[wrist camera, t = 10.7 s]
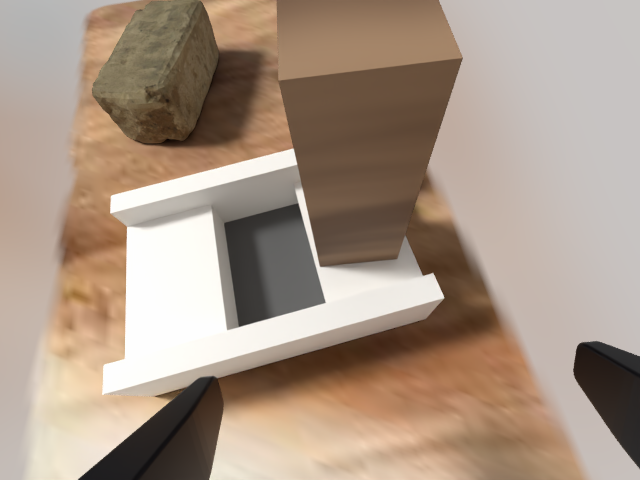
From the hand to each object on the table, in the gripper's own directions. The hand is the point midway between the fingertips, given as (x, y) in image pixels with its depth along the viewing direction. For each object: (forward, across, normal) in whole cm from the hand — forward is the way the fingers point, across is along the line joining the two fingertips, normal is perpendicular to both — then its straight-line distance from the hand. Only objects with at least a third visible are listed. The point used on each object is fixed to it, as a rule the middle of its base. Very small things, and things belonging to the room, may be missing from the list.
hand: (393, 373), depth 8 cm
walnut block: (+10, 0, -1) cm, 10 cm away
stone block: (+24, +13, -10) cm, 29 cm away
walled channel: (+12, +5, +2) cm, 13 cm away
